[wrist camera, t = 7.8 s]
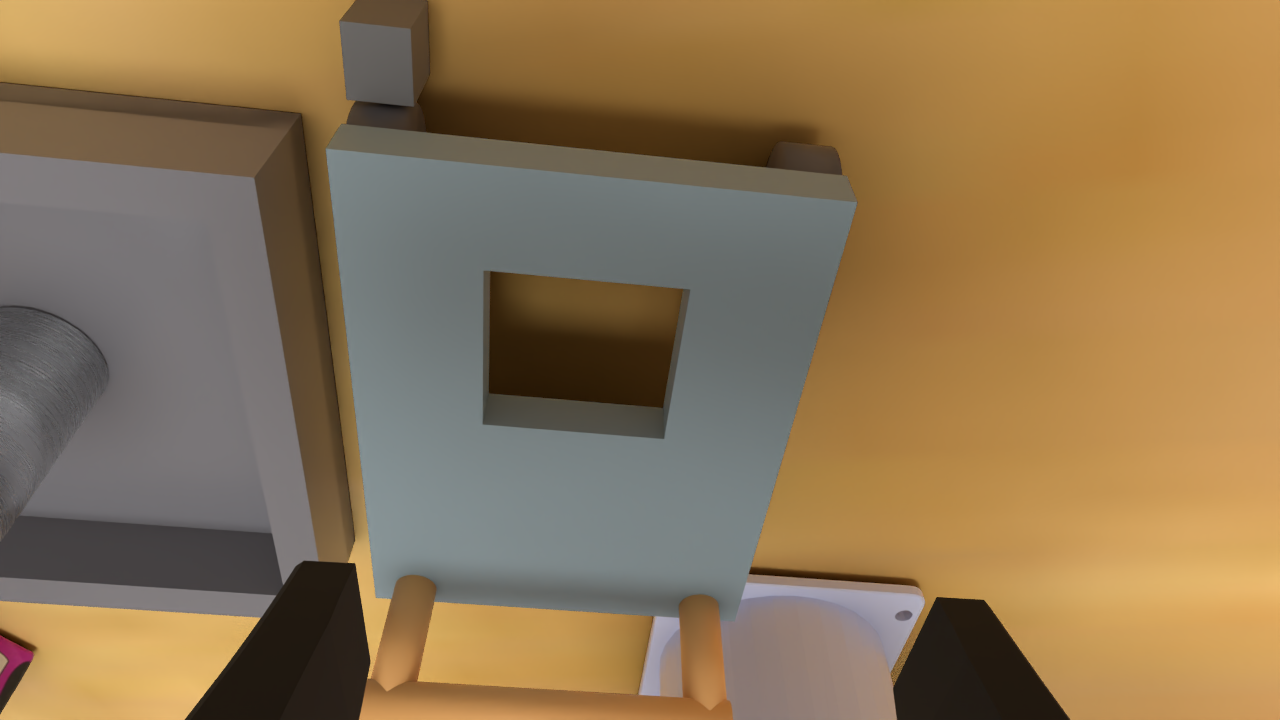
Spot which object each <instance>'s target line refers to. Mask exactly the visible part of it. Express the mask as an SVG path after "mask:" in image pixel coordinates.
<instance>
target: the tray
mask: <svg viewBox="0 0 1280 720" xmlns="http://www.w3.org/2000/svg"><path fill="white" fill-rule="evenodd" d="M2 307H20V308H27V309H32V310H36V311H40V312H43V313H46V314H49V315H52V316H54V317H56V318H59V319H61V320H63V321H64V322H66V323H68V324H70V325H71V326H73V327H74V328H76V329H77V330H79V331H80V332H81V333H83V334H84V335H85V336H86V337H87V338H88V339H89V340H91V342H92V343H93V344H94V345H95V346H96V347H97V348H98V350H99V351H100V353H101V354H102V356H103V358H104V360H105V362H106V364H107V367H108V372H109V380H108V385H107V387H106V389H105V391H104V392H103V394H102V395H101V397H100V398H99V400H98V401H97V403H96V404H95V405H94V407H93V408H92V410H91V411H90V413H89V414H88V416H87V417H86V419H85V420H84V421H83V423H82V424H81V426H80V427H79V429H78V430H77V432H76V433H75V435H74V436H73V437H72V439H71V440H70V442H69V443H68V445H67V446H66V448H65V449H64V451H63V452H62V453H61V455H60V456H59V458H58V459H57V461H56V462H55V464H54V465H53V467H52V468H51V469H50V471H49V472H48V474H47V475H46V477H45V478H44V480H43V481H42V483H41V484H40V485H39V487H38V488H37V490H36V491H35V493H34V494H33V496H32V497H31V499H30V500H29V501H28V503H27V504H26V506H25V507H24V509H23V510H22V512H21V513H20V515H19V516H18V517H17V519H16V520H15V522H14V523H13V525H12V526H11V528H10V529H9V531H8V532H7V533H6V535H5V536H4V538H3V539H2V541H1V542H0V601H10V602H26V603H42V604H57V605H73V606H88V607H104V608H120V609H135V610H151V611H166V612H182V613H198V614H213V615H229V616H244V617H260V618H261V617H262V616H263V614H264V613H265V612H266V610H267V609H268V607H269V606H270V604H271V603H272V601H273V600H274V598H275V597H276V595H277V594H278V592H279V591H280V589H281V588H282V586H283V585H284V583H285V582H286V580H287V579H288V577H289V576H290V574H291V573H292V571H293V570H294V568H295V566H297V565H298V564H300V563H301V562H303V561H304V560H305V561H322V562H339V563H348V560H349V557H350V554H351V551H352V548H353V545H354V541H355V536H354V528H353V521H352V513H351V505H350V497H349V489H348V481H347V473H346V465H345V458H344V450H343V442H342V434H341V426H340V418H339V410H338V402H337V395H336V387H335V379H334V371H333V363H332V355H331V347H330V339H329V332H328V324H327V316H326V308H325V300H324V292H323V284H322V276H321V268H320V261H319V253H318V245H317V237H316V229H315V221H314V213H313V205H312V198H311V190H310V182H309V174H308V166H307V158H306V150H305V142H304V135H303V127H302V119H301V114H299V113H289V112H279V111H270V110H260V109H250V108H241V107H231V106H221V105H212V104H202V103H192V102H183V101H173V100H164V99H154V98H144V97H135V96H125V95H115V94H106V93H96V92H86V91H77V90H67V89H57V88H48V87H38V86H28V85H19V84H9V83H0V308H2Z"/></svg>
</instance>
